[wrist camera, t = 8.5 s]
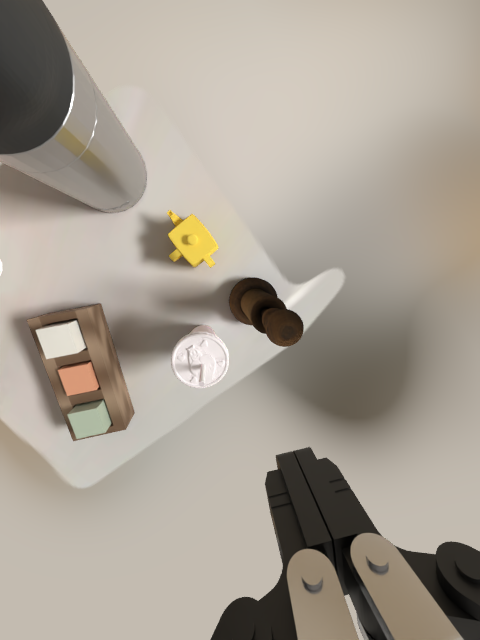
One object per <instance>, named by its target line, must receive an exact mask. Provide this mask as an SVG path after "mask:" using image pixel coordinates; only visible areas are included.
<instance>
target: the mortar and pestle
mask: <svg viewBox="0 0 480 640" xmlns="http://www.w3.org/2000/svg"><path fill="white" fill-rule="evenodd" d="M229 304H230V308H231V311H232V313H233V314H234V316H235V317H236V318H237V319H238V320H239V321H240V322H242V323H244V324H247V325H253V326H254V327H255V328H256V329H257V330H258V331H259V332H261V333H265V334H267V336H268V338H269V339H270V341H271V342H273V343H274V344H276V345H278V346H283V347H286V346H291V345H293V344H295V343H297V342H298V341H299V339H300V338H301V336H302V334H303V322H302V320H301V318H300V317H299V315H298V314H296V313H295V312H293V311H291V310H287V309H286V306H285V304H284V303H283V302H282V301H281V300H280V299H279V298H277V294H276V291H275V289H274V288H273V286H272V285H271V284H269V283H268V282H267V281H265V280H262V279H259V278H247V279H244V280H242V281H240V282H239V283H238V284H236V286H235V287H234V288H233V290H232V292H231V294H230V299H229Z"/></svg>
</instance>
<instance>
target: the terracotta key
mask: <svg viewBox="0 0 480 640" xmlns="http://www.w3.org/2000/svg"><path fill="white" fill-rule="evenodd" d="M58 372H59V375H60V378H61V381H62V383H63V386H64V389H65V391H66V394H67V396H70V395H75V394H80V393H85V392H90V391H94V390H97V389H98V388H99V387H100V384H99V381H98V378H97V375H96V372H95V369H94V366H93V363H92V360H88V361H83V362H78V363H73V364H68V365H65V366H63V367H62V368H60V369H59V370H58Z"/></svg>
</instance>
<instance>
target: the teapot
mask: <svg viewBox="0 0 480 640" xmlns="http://www.w3.org/2000/svg"><path fill="white" fill-rule="evenodd" d="M167 214H168V215H169V217H170V218H171V220H172V221H173V223H174V225H175V228H174V229H173V230H172V231H171V232H170V233H169V234H168V237H169V238H170V240H171V241H172V243H173V244H174V246H175V247H176V248H177V249H176V250H175V251H174V252H172V253H171V254H170V255H169V257H170V258H171V259H172V261H174V262H175V261H176V260H178V259H179V258H181V257H182V256H183V257H184V258H185V259H186V260H187V261H188V262H189V263H190V264H191V265H192V266H193V267H196V266H198V265H199V264H200V263H202V262H203V261H204V260H205V262H206V263H207V264H208V265H209V267H210V268H211V267H212V266H214V265H215V263H214V261H213V260H212V259H211V257H210V255H211V254H213V253H214V252H215V251H216V250H217V249H218V245H217V243H216V242H215V240H214V239H213V237H212V236H211V234H210V233H209V232H208V230H207V229H206V228H205V227H204V225H203V224H202V223H201V222H200V221H199V220H198V219H197V218H196V217H195V216H194V215H193V214H191V215H190V216H189V217H187V218H186V219H185V220H184V221H183V220H182V219H181V218H179V217H178V216H177V215H176V214H174V213H173V212H172V211H171V210H169V211H168V212H167Z"/></svg>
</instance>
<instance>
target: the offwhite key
mask: <svg viewBox="0 0 480 640" xmlns="http://www.w3.org/2000/svg"><path fill="white" fill-rule="evenodd" d="M35 331H36V333H37V336H38V338H39V341H40V344H41V346H42V349H43V352H44V354H45V357H46V359H50V358H55V357H60V356H66V355H71V354H76V353H79V352H80V351H82V350H83V349H85V348H86V347H87V345H86V342H85V339H84V336H83V333H82V330H81V327H80V324H79V322H78V319H76V320H71V321H66V322H60V323H55V324H51V325H48V326H45V327H42V328H40V329H37V330H35Z"/></svg>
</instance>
